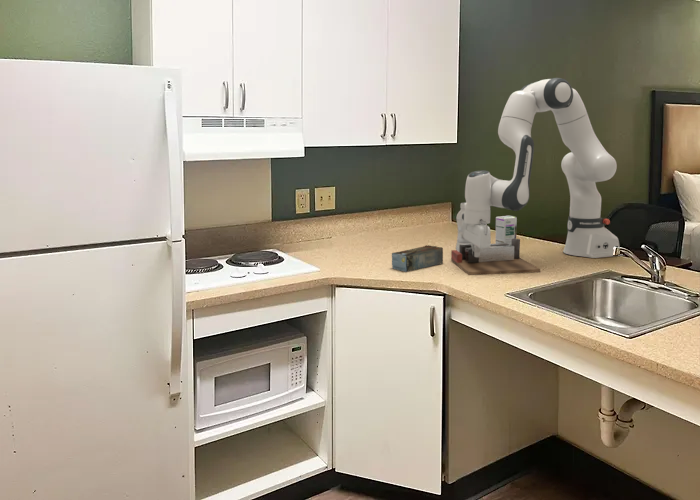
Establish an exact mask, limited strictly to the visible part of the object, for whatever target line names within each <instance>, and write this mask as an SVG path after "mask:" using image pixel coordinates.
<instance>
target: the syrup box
mask: <svg viewBox="0 0 700 500" xmlns="http://www.w3.org/2000/svg"><path fill="white" fill-rule="evenodd" d="M517 220H518V219H517V216H515V215H502V216H496V217H495V242H494V244H498V243H507V244H509V245H511V243H512V239H517V225H518V224H517V223H518V221H517Z"/></svg>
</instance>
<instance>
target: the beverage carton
mask: <svg viewBox="0 0 700 500" xmlns="http://www.w3.org/2000/svg"><path fill="white" fill-rule="evenodd" d="M442 264H444V248H443V247H440V246H436V245H428V244H427V245H423V246H419V247H415V248H414V247H413V248H411V249H406V250H405V249H404V250H401V251H396V252H392V253H391V266H392V267H391V268H392V269H394V270H397V271H401V272H405V273H407V272H412V271H417V270H421V269H425V268H429V267H433V266H438V265H442Z"/></svg>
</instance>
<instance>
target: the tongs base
mask: <svg viewBox="0 0 700 500" xmlns="http://www.w3.org/2000/svg"><path fill="white" fill-rule="evenodd" d="M506 245H509V244H507V243H498V244H495V243H491V245H490V246H506ZM511 245H512V246H514V260H506V261H490V262H479V263H467V262H465V248H469V247H471V245H470V244H465V245H460V247H459V252H458V251H457V250H456V249H451V251H450V252H451V256H450V257H451V259H450V261H451V262H452V263H454V265H456V266H457V267H458V269H459V268H460V269H461V270H462V271H463V272H464V273H465V274H467V276H471V275H472V276H474V275H475V276H476V275H497V274H519V273H520V274H521V273H526V274H527V273H540V272H541V268H539V267H537V266H535V265H534V264H532V263H531V262H529V261H527V260H525V259H523V258H522V257H520V251H521V239H520V238H516V239H512V243H511Z"/></svg>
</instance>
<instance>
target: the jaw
mask: <svg viewBox="0 0 700 500" xmlns="http://www.w3.org/2000/svg"><path fill="white" fill-rule="evenodd" d="M506 260H514V246H512V245H506V246H490V248H489V249H481V250H480V256H479V257H474V256H473V255H472V247H469V248H465V262H467V263H479V262H490V261H506Z"/></svg>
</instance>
